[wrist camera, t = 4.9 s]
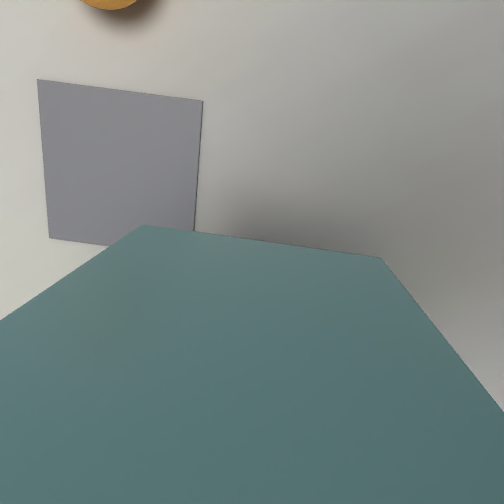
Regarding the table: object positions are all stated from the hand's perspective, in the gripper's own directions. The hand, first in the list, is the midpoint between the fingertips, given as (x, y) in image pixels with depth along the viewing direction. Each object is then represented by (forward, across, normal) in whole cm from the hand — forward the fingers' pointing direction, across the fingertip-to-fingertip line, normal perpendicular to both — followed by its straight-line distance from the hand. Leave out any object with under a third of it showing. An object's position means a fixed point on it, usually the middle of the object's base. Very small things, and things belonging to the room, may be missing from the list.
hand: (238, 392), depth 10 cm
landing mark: (+14, +10, -3) cm, 17 cm away
